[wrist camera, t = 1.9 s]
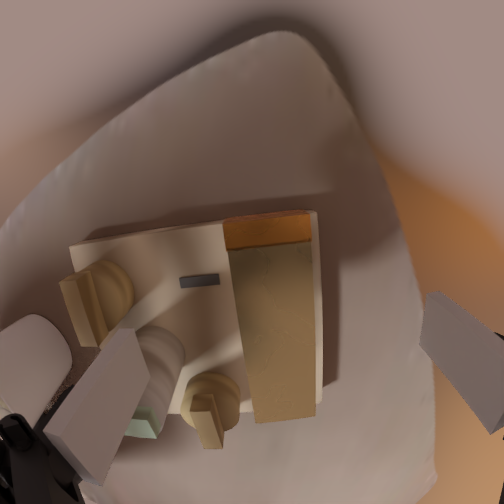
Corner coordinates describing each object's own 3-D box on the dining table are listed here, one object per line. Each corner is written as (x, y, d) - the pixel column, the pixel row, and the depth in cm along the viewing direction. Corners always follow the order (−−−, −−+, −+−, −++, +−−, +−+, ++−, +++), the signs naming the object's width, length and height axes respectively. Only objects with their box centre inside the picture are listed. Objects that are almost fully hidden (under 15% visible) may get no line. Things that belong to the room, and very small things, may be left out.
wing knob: (253, 330, 22) (254, 423, 12) (235, 201, 19) (222, 223, 10) (292, 326, 22) (316, 415, 12) (281, 196, 19) (310, 214, 10)
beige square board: (133, 399, 27) (99, 474, 16) (80, 241, 22) (-6, 283, 12) (318, 390, 26) (342, 477, 15) (311, 209, 22) (366, 240, 11)
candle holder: (33, 290, 24) (-41, 341, 12) (92, 359, 26) (38, 434, 14) (9, 331, 25) (-47, 379, 14) (59, 388, 27) (15, 449, 15)
